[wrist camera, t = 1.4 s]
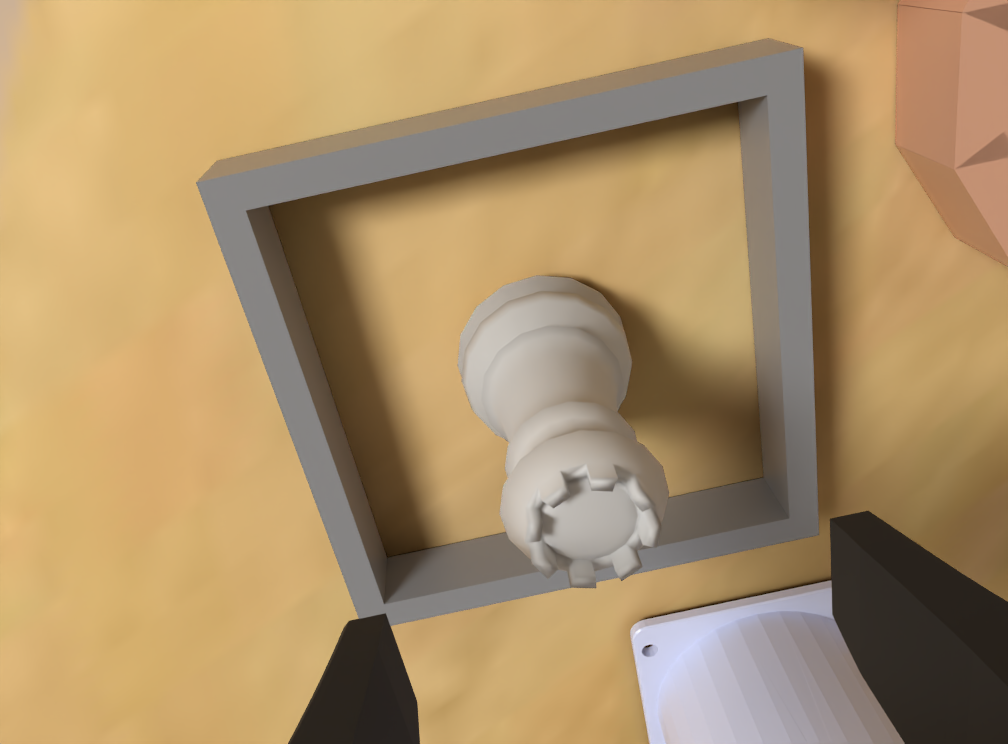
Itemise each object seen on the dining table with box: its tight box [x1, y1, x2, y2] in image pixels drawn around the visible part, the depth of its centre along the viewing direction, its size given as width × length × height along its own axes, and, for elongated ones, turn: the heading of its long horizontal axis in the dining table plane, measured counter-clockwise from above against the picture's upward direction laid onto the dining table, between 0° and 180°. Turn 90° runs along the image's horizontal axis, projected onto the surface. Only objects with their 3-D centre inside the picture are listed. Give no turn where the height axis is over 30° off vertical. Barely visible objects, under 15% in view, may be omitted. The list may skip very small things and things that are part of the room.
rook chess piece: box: [458, 275, 669, 588], centre depth 19 cm, size 4×4×8 cm
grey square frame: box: [196, 38, 819, 626], centre depth 22 cm, size 13×13×2 cm
